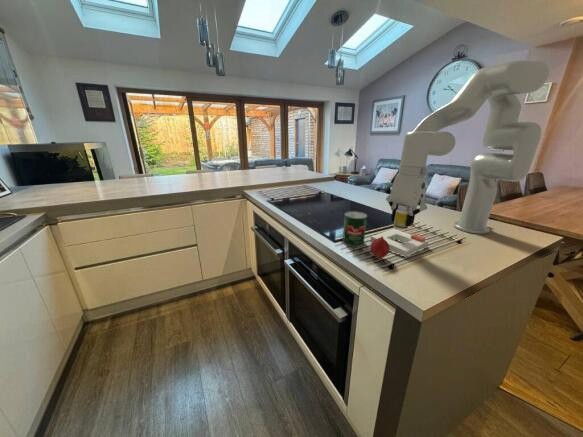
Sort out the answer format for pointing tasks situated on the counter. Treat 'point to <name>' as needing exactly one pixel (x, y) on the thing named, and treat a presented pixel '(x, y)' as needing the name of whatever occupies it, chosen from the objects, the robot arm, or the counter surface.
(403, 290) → the counter surface
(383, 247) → the onion
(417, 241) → the socket plate
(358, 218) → the canned tomato
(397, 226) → the supplement bottle
